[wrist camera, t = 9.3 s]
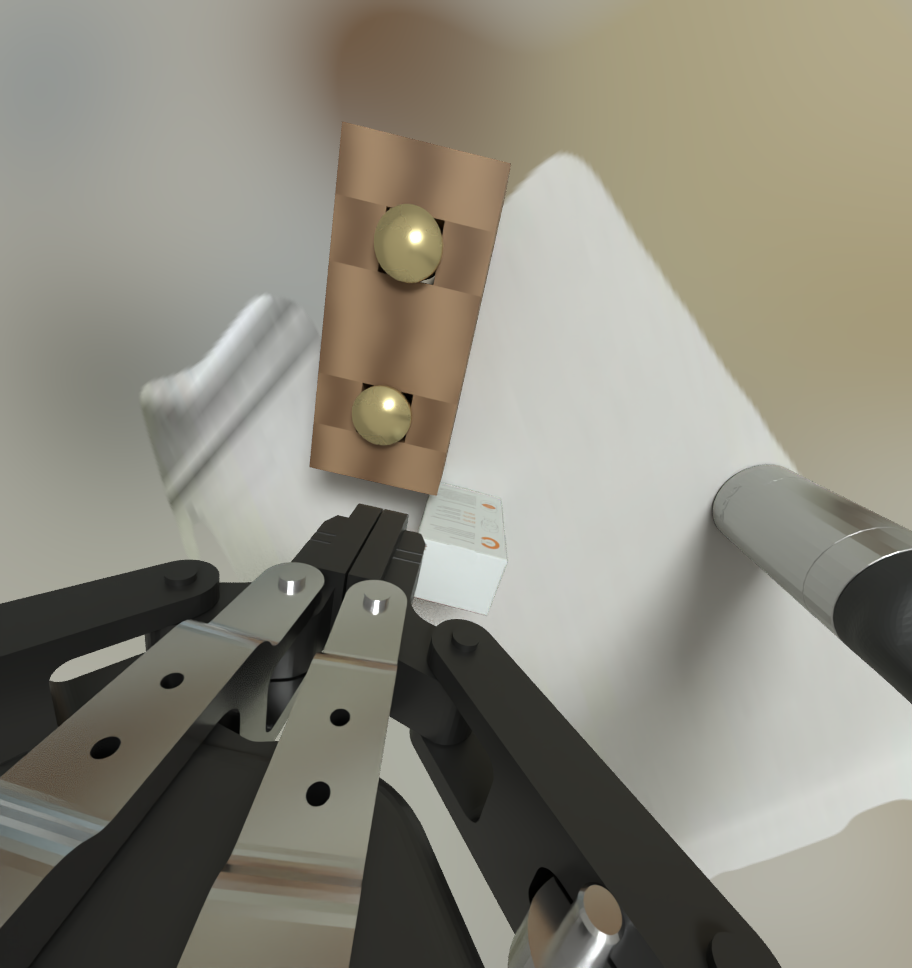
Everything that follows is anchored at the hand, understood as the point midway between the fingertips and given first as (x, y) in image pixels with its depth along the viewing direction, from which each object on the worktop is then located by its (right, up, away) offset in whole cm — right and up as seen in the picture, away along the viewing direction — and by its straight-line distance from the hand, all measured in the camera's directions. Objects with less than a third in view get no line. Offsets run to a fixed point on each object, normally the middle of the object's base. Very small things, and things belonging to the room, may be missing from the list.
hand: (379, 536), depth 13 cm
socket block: (-2, +17, +29) cm, 33 cm away
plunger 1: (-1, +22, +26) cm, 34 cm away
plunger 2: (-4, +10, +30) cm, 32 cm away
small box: (+3, -2, +36) cm, 36 cm away
